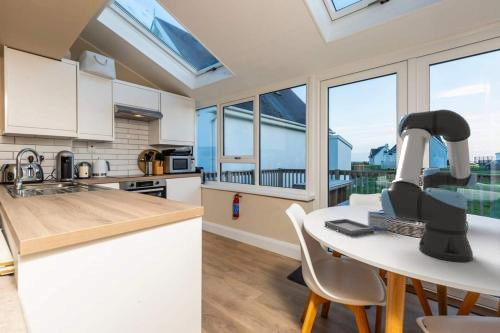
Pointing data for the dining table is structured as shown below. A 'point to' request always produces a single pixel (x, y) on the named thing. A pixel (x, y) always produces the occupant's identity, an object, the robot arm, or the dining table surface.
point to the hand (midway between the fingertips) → (391, 201)
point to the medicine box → (377, 220)
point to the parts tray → (349, 227)
